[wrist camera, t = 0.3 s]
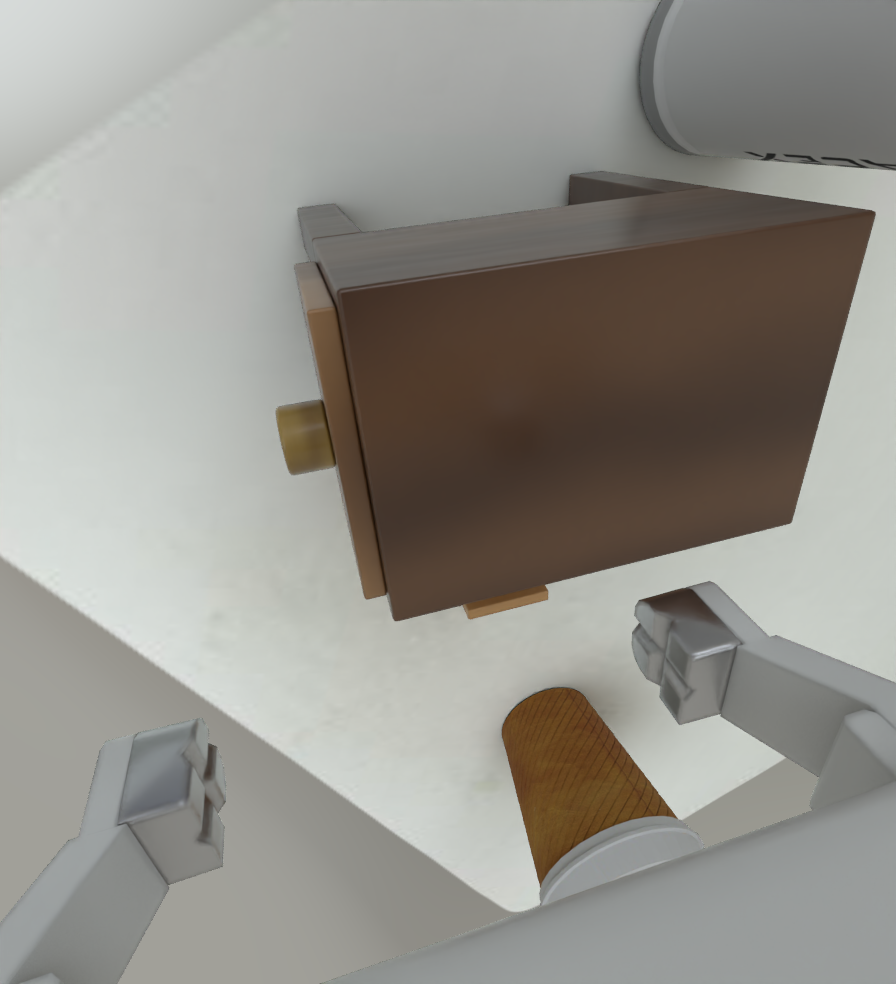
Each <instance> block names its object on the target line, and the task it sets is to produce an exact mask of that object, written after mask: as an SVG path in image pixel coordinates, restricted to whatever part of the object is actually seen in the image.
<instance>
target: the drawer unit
mask: <svg viewBox="0 0 896 984" xmlns="http://www.w3.org/2000/svg"><path fill="white" fill-rule="evenodd" d="M297 212H298V217H299V222H300V227H301V232H302V237H303V242H304V247H305V250H306V252H307V255H308V257H309V260H310V262H306V263H299V264H295V265H294V269H295V274H296V279H297V284H298V289H299V293H300V298H301V303H302V308H303V313H304V317H305V322H306V327H307V332H308V337H309V342H310V346H311V351H312V356H313V361H314V366H315V371H316V375H317V380H318V385H319V390H320V395H321V400H319V399H318V400H312V401H307V402H301V403H295V404H290V405H284V406H279V407H277V408H276V420H277V426H278V431H279V436H280V441H281V445H282V449H283V454H284V457H285V461H286V465H287V468H288V471H289V473H290V474H291V475H298V474H303V473H309V472H314V471H319V470H324V469H329V468H333V467H336V472H337V477H338V482H339V487H340V491H341V496H342V501H343V506H344V510H345V515H346V519H347V523H348V528H349V532H350V536H351V541H352V545H353V550H354V554H355V558H356V563H357V567H358V571H359V576H360V580H361V585H362V589H363V593H364V597H365V599H372V598H376V597H380V596H384V595H387V599H388V602H389V606H390V610H391V613H392V617H393V619H394V620H395V621H401V620H405V619H409V618H413V617H417V616H421V615H425V614H429V613H433V612H437V611H441V610H445V609H449V608H453V607H457V606H461V605H465V604H469V603H473V602H477V601H481V600H485V599H489V598H493V597H497V596H501V595H505V594H509V593H513V592H517V591H521V590H525V589H529V588H533V587H537V586H541V585H545V584H550V583H554V582H558V581H562V580H566V579H570V578H574V577H578V576H582V575H586V574H590V573H594V572H598V571H602V570H606V569H610V568H614V567H618V566H622V565H626V564H630V563H634V562H638V561H642V560H646V559H650V558H654V557H658V556H662V555H666V554H670V553H674V552H678V551H682V550H686V549H690V548H694V547H698V546H702V545H706V544H710V543H714V542H718V541H722V540H726V539H730V538H734V537H738V536H742V535H746V534H751V533H755V532H759V531H763V530H767V529H771V528H775V527H779V526H783V525H787V524H790V523H791V522H792V519H793V516H794V512H795V508H796V505H797V501H798V497H799V494H800V490H801V486H802V483H803V479H804V475H805V472H806V468H807V464H808V461H809V457H810V453H811V450H812V446H813V442H814V439H815V435H816V431H817V428H818V424H819V420H820V417H821V413H822V409H823V406H824V402H825V398H826V395H827V391H828V387H829V384H830V380H831V376H832V373H833V369H834V365H835V362H836V358H837V354H838V351H839V347H840V343H841V340H842V336H843V332H844V329H845V325H846V321H847V318H848V314H849V310H850V307H851V303H852V299H853V296H854V292H855V288H856V285H857V281H858V277H859V274H860V270H861V266H862V263H863V259H864V255H865V252H866V248H867V244H868V241H869V237H870V233H871V230H872V226H873V222H874V219H875V212H874V211H872V210H865V209H858V208H852V207H845V206H838V205H831V204H824V203H817V202H810V201H803V200H796V199H789V198H782V197H775V196H769V195H762V194H755V193H748V192H741V191H734V190H727V189H720V188H713V187H708V186H701V185H694V184H687V183H680V182H673V181H666V180H659V179H652V178H645V177H639V176H632V175H625V174H618V173H611V172H604V171H598V172H590V173H582V174H573V175H570V188H569V206H561V207H554V208H546V209H538V210H531V211H523V212H515V213H508V214H500V215H492V216H485V217H477V218H470V219H462V220H454V221H447V222H439V223H431V224H424V225H416V226H408V227H401V228H393V229H385V230H378V231H370V232H363V233H362V232H361V231H360V230H359V229H358V228H357V227H356V226H355V225H354V223H353V222H352V221H351V220H350V219H349V218H348V217H347V216H346V215H345V214H344V213H343V212H342V211H341V210H340V209H339V208H338V207H337V206H336V205H335V204H326V205H318V206H310V207H302V208H298V209H297Z"/></svg>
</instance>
